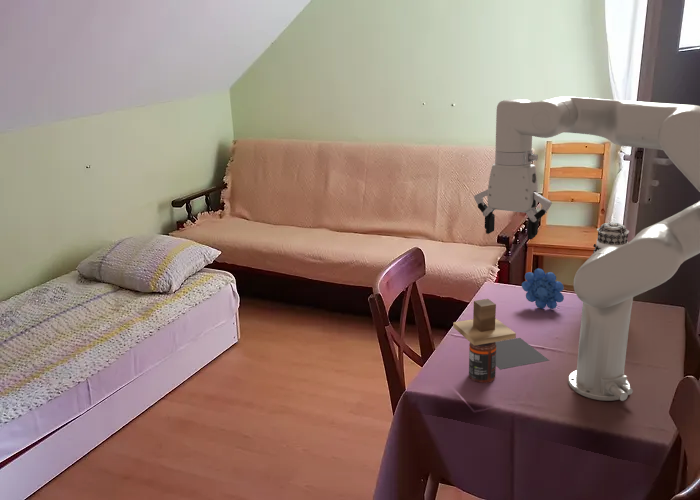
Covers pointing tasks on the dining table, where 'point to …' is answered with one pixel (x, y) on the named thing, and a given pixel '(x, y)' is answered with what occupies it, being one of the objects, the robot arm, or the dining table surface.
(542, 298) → the blue flower shape
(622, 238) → the decorative candle
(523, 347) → the dark gray mat
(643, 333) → the dining table surface
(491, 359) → the supplement bottle
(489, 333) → the oak lid
